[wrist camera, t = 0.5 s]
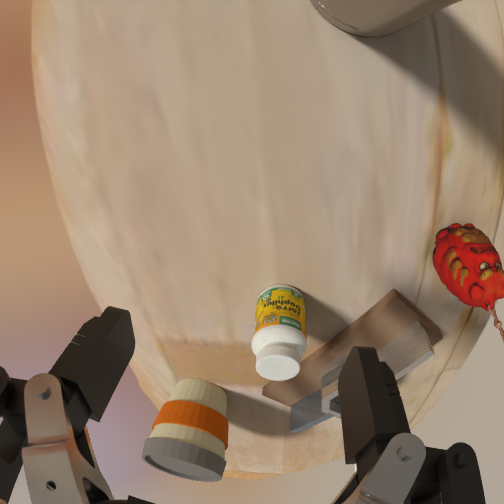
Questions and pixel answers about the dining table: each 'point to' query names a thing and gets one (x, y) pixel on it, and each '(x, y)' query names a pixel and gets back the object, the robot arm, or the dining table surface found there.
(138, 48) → the dining table surface
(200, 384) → the reusable coffee cup
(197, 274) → the dining table surface
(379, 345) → the board
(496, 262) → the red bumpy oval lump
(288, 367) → the supplement bottle
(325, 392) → the grey winged octagonal holder
